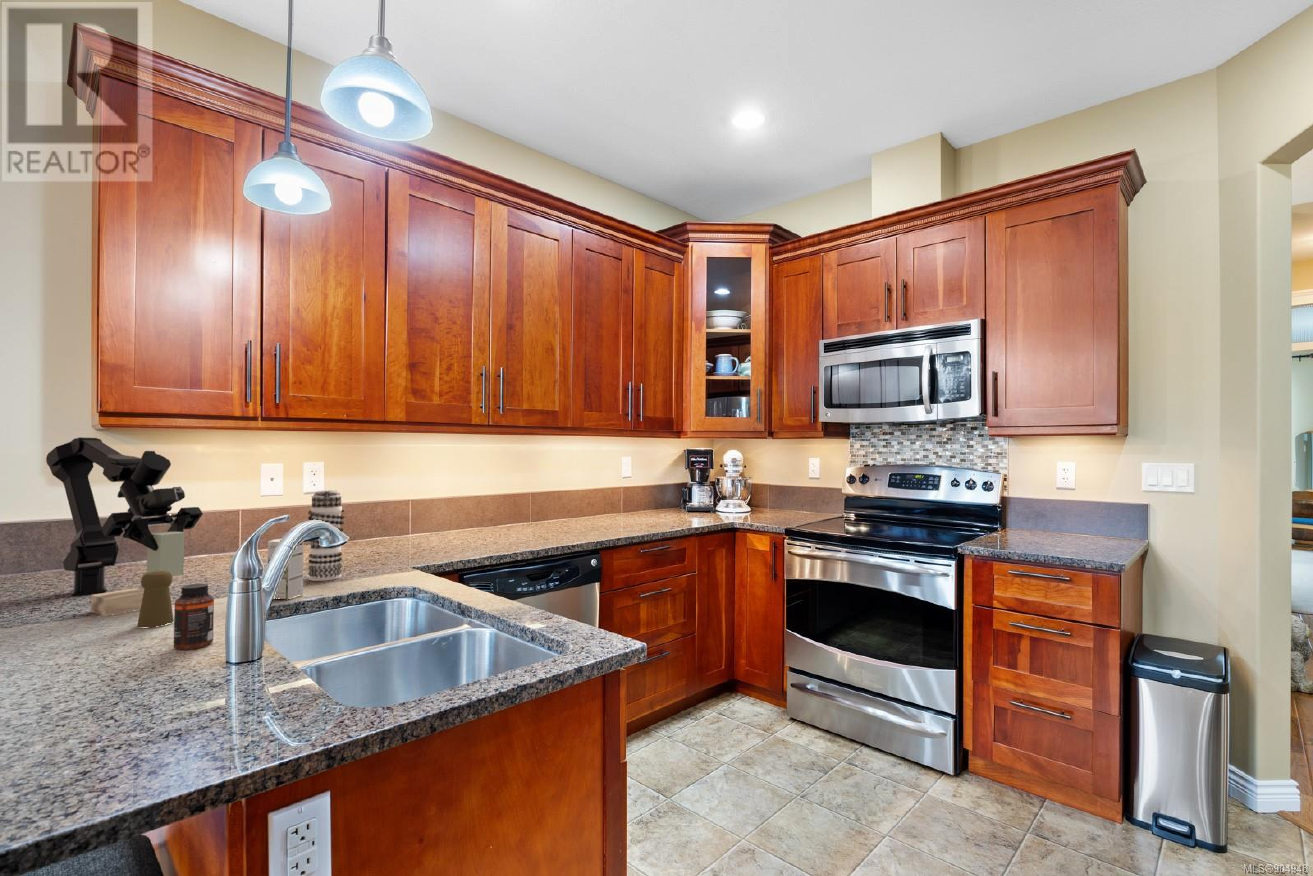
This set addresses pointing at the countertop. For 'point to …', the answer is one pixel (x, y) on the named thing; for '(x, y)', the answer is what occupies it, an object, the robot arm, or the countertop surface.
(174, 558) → the sage block
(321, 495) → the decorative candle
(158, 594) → the cork
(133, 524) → the robot arm
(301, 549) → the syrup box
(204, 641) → the supplement bottle
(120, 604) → the maple block
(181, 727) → the countertop surface
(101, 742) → the countertop surface
